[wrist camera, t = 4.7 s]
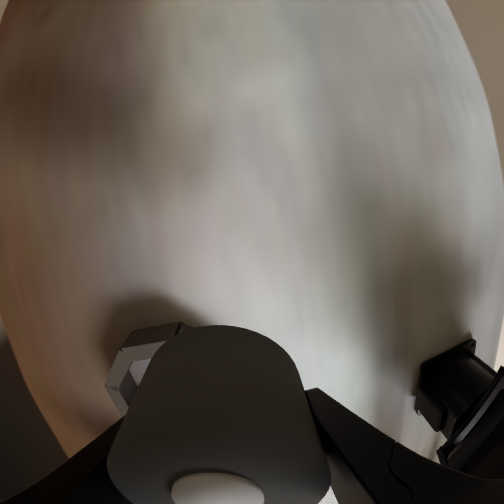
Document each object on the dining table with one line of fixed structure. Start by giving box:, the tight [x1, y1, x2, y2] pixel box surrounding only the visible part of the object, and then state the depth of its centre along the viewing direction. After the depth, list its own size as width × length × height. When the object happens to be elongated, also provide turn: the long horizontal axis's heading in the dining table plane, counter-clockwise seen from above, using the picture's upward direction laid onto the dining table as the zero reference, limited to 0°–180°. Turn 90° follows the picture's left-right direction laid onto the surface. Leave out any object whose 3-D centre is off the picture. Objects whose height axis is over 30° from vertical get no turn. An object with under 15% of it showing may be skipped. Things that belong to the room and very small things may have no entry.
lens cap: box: [107, 325, 332, 504], centre depth 7 cm, size 5×5×4 cm
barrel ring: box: [104, 322, 193, 417], centre depth 18 cm, size 9×9×2 cm
